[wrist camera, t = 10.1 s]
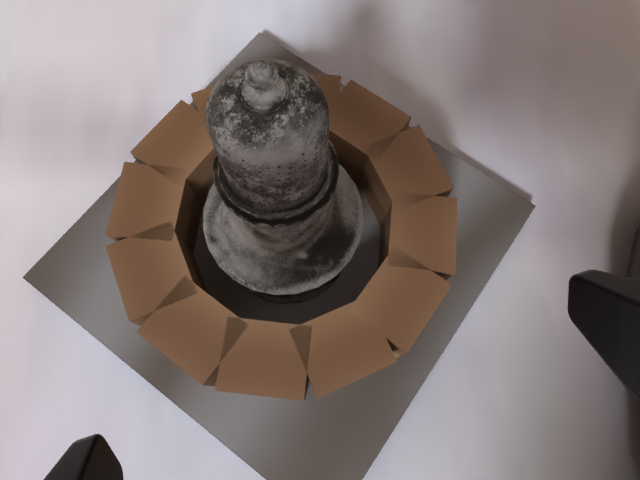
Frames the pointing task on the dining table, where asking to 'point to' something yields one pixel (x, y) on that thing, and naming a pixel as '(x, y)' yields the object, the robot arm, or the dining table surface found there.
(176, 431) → the dining table surface
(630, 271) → the casserole
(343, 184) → the salt shaker
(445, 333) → the walnut collar
